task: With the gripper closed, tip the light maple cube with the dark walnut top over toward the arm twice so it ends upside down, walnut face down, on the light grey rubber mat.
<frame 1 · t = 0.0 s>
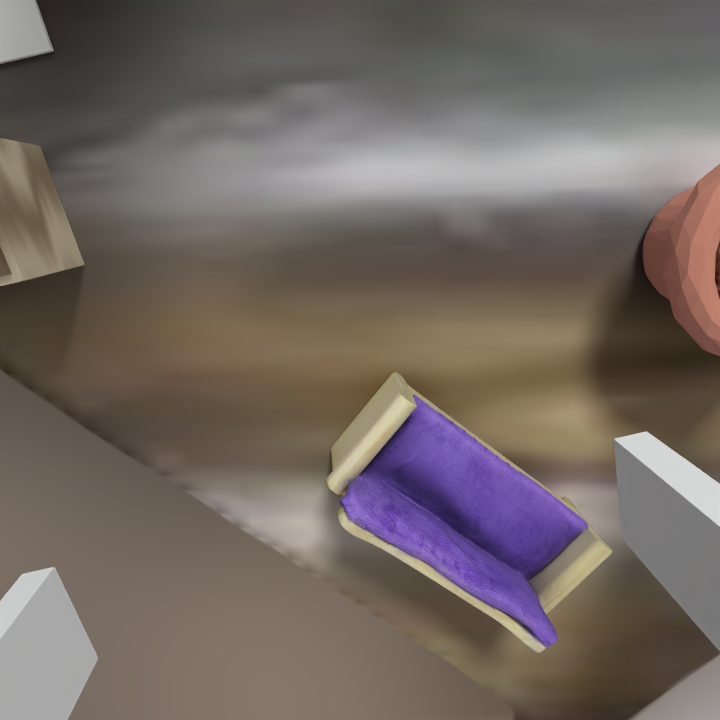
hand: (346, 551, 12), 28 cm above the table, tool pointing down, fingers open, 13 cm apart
maple cube: (6, 220, 36), on the table
decorative flower: (696, 237, 39), on the table
toy sofa: (454, 473, 44), on the table
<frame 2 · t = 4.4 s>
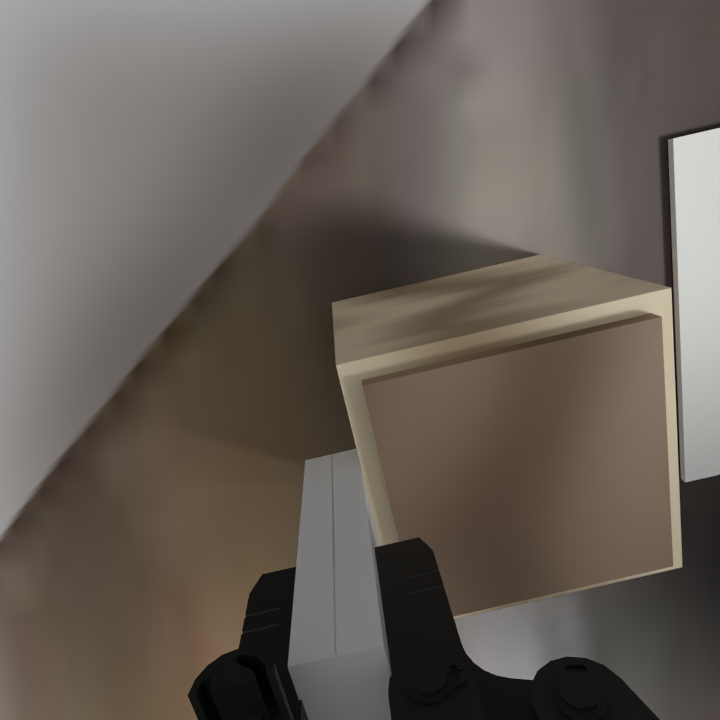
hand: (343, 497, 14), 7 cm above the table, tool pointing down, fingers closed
maple cube: (453, 376, 21), on the table, touching gripper
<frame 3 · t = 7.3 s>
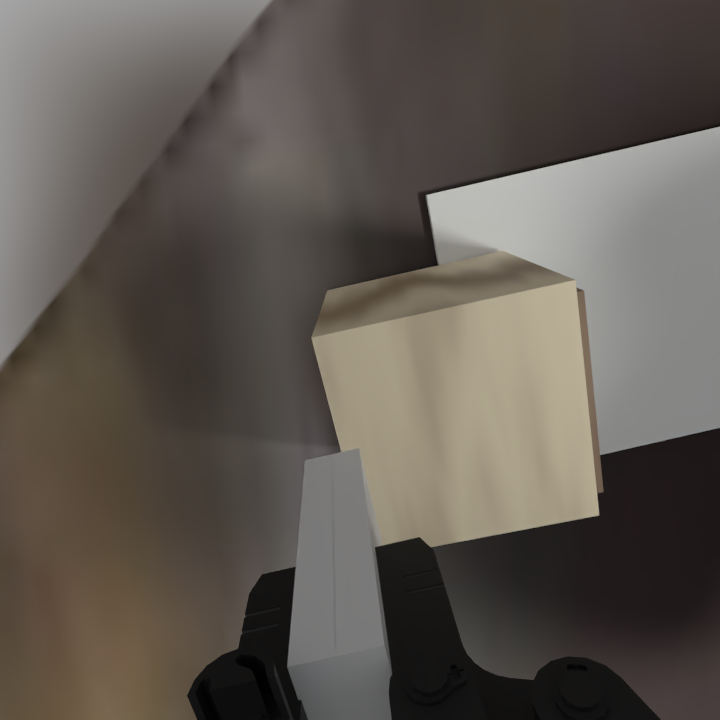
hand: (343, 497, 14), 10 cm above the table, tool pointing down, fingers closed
maple cube: (345, 407, 20), point 4 cm above the table, tilted 87°, touching grey mat
grey mat: (600, 315, 24), on the table
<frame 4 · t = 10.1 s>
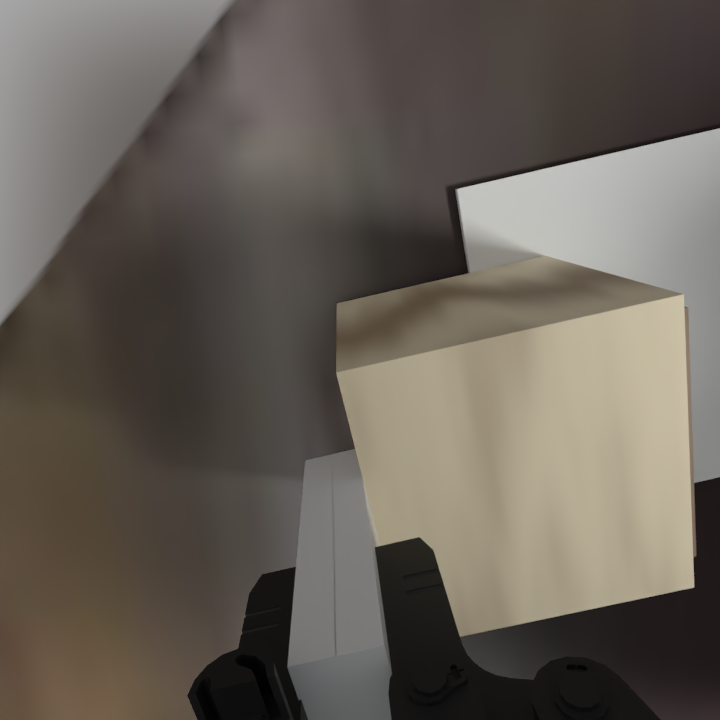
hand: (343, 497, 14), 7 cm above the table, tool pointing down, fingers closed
maple cube: (365, 448, 17), point 4 cm above the table, tilted 89°, touching grey mat, gripper
grey mat: (657, 332, 21), on the table
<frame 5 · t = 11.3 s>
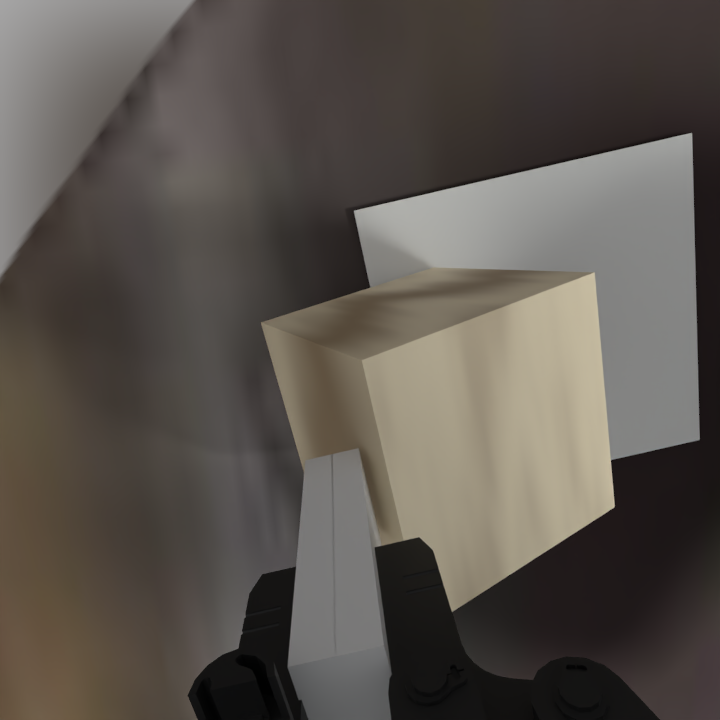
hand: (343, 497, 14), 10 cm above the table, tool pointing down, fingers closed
maple cube: (331, 455, 17), point 7 cm above the table, tilted 114°, touching grey mat, gripper
grey mat: (539, 333, 24), on the table
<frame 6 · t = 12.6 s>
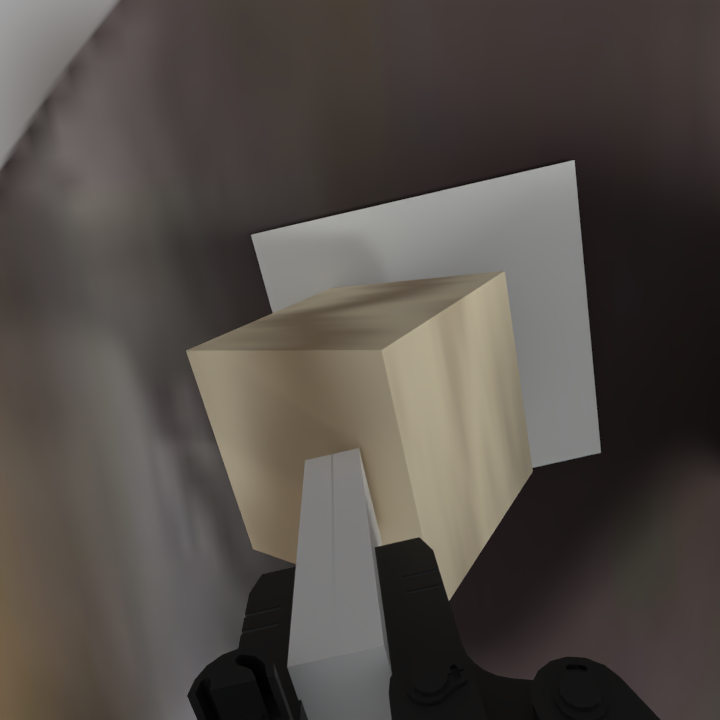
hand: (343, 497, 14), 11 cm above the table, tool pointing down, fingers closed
maple cube: (302, 472, 16), point 9 cm above the table, tilted 141°, touching grey mat, gripper
grey mat: (438, 350, 24), on the table
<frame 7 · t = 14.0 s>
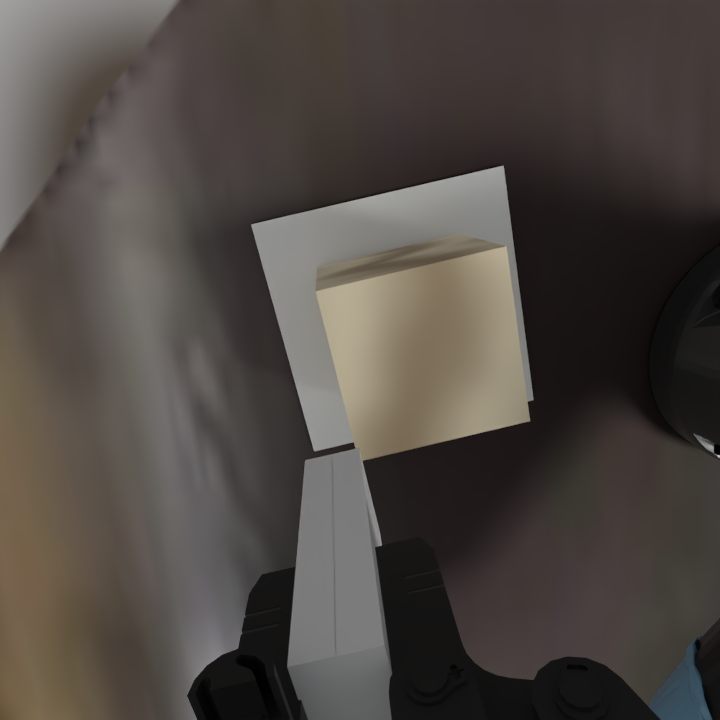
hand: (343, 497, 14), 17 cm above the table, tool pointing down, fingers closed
maple cube: (428, 359, 23), point 8 cm above the table, tilted 180°, touching grey mat
grey mat: (401, 317, 31), on the table
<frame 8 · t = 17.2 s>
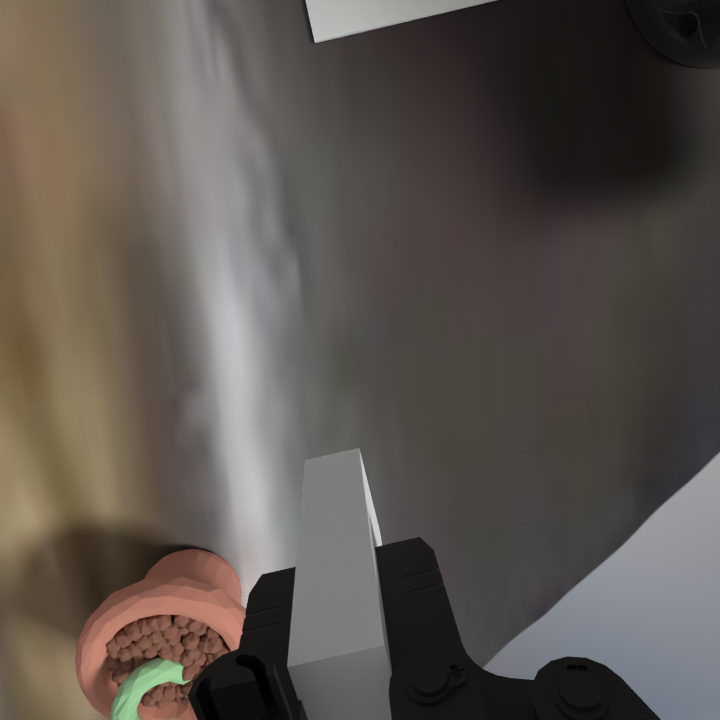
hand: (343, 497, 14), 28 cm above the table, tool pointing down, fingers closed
decorative flower: (201, 585, 49), on the table
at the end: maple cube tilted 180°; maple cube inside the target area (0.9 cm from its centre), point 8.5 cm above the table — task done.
